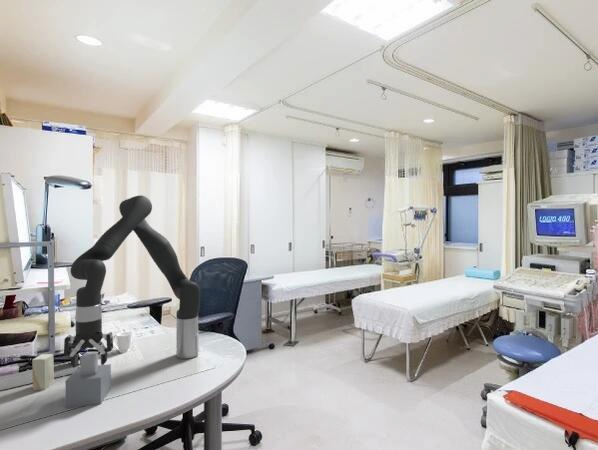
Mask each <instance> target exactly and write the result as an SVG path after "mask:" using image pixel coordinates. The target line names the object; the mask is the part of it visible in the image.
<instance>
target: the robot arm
mask: <svg viewBox="0 0 598 450" xmlns="http://www.w3.org/2000/svg"><path fill="white" fill-rule="evenodd" d="M118 208H119V209H118V210H119V212H120V215H121V217H120V219H119V220H117V222H115V223H114V224H113V225H112V226H110V227H109V228H108V229H107V230H106V231H105V232H104V233H103V234H102V235H101V236H100V237H99V238H98V240H97V241H96V242H95V243H94V245H92V247H91V248H90V247H89V249H87V250H86V251H85V252H83V253H81V254H80V256H78V257H77V258H76V259H75V260H74V261H73V263H72V264H71V267H70V275H71V277H73V278H74V279H76V280H82V281H83V280H84V281H86V284H85V286H82V287H80V288H78V289H77V290H76V295H75V296H76V300H75V303H76V305H75V307H76V308H75V315H74V319H75V335H71V334H69V335H68V336H67V335H66V337H65V338H64V340H63V341H64V344H63V355H64V356H69V358H70V357H71V364H70V366H71V367H72V368H76V367H78V366H79V365H78V354H76V353H77V352H78V351H79V349H80V348H83V349H86V348H87V349H94V348H95V349H96V350H97V351H98V352H100V353H101V354H100V365H106V362H107V361H108V353H110V352H111V351H112V350H113V349H114V345H113V337H114V335H113V332H111V331H110V332H109V333H103V332H102V331H103V326H102V325H103V323H102V322H103V321H102V320H103V319H102V317H103V313H102V312H103V309H102V301H101V296H102V295H101V294H102V293H101V291H102V289H103V285H104V281H105V278H106V274H107V267H106V265H105V263H104V261H108V260H110V259H111V258H112V257H113V256H114V254H115V253H116V252H117V251H118V249H119V248H120V246H121V245H122V244H123V242H124V241H125V240H126V239H127V237H128V236H130V234H131V233H132V232H134V233H135V234H136V236H137V238H138V239H139V240H140V242H141V243H142V245H143V246H144V247H145V249H146V251H147V252H148V255H149V256H150V257H151V259H152V261H153V262H154V263H155V265H156V266H157V268H158V269H159V270H160V271H161V273H162V274H163V275H164V277H165V278H166V280H167V282H168V284H169V286H170V288H171V290H172V292H173V294H174V296H175V297H176V298H177V299H178V300H179V308H178V310H177V311H176V318H175V319H176V321H175V322H176V323H175V324H176V337H175V338H176V350H175V351H176V358H177V359H181V360H183V359H185V360H187V359H191V358H195V357H198V356H199V350H200V347H199V343H200V341H199V340H200V339H199V338H200V337H199V334H200V333H199V312H200V309H201V308H200V307H201V288H200V286H199V284H197V282H194V281H192V280H190V279H189V278H188V277H187V276H186V275H185V273H184V271H183V270H182V269H181V267H180V263H179V259H178V256H177V253H176V251H175V250H174V248H173V246H172V245H171V243H170V241H169V240H168V239H167V238H166V237H165V236H164V235H162V234H161V233H159V232H158V231H157V230H155V229H154V228H153V227H152V226H150V224H149V223H148V222H147V220H146V218H147V217H148V216H149V215H150V214H151V213H152V209H153V204H152V201H151V200H150V199H149V198H148V197H147V196H146V195H142V194H141V195H134V196H132V197H130V198H126V199H124V200H122V201H121V203H120V204H119V206H118ZM102 339H104V340H105V341H106V345H105V344H104V342H103V341H102ZM73 340H75V342H76V343H77V344H78V345H77V346H76V347H75V348H74V350H73V351H72V350H71V343H73Z"/></svg>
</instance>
